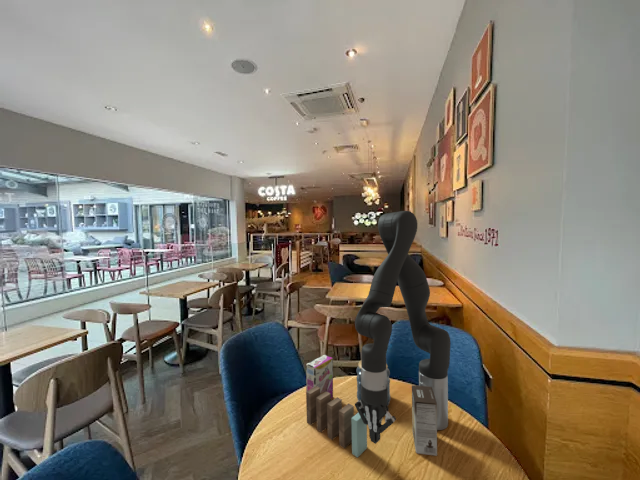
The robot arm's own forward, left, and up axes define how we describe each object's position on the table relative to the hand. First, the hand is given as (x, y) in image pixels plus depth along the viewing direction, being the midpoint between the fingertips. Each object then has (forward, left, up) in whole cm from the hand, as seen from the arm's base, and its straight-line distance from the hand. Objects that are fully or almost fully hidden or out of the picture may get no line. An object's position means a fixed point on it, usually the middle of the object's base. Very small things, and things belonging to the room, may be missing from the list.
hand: (374, 441), depth 79 cm
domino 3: (0, -16, -6) cm, 17 cm away
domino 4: (0, -11, -6) cm, 12 cm away
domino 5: (0, -6, -6) cm, 8 cm away
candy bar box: (-9, -31, -6) cm, 33 cm away
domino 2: (0, -21, -6) cm, 21 cm away
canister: (-24, -17, -6) cm, 30 cm away
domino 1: (0, -26, -6) cm, 26 cm away
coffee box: (-16, +7, -6) cm, 19 cm away
